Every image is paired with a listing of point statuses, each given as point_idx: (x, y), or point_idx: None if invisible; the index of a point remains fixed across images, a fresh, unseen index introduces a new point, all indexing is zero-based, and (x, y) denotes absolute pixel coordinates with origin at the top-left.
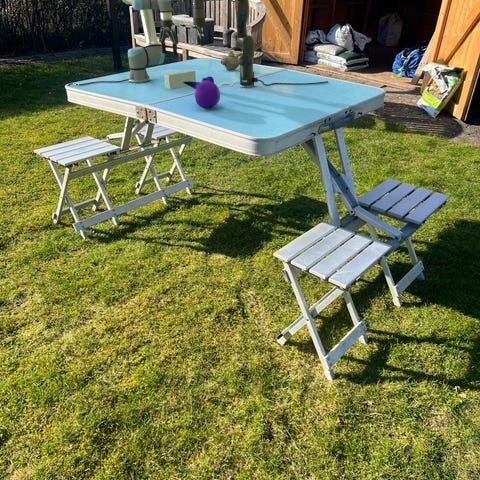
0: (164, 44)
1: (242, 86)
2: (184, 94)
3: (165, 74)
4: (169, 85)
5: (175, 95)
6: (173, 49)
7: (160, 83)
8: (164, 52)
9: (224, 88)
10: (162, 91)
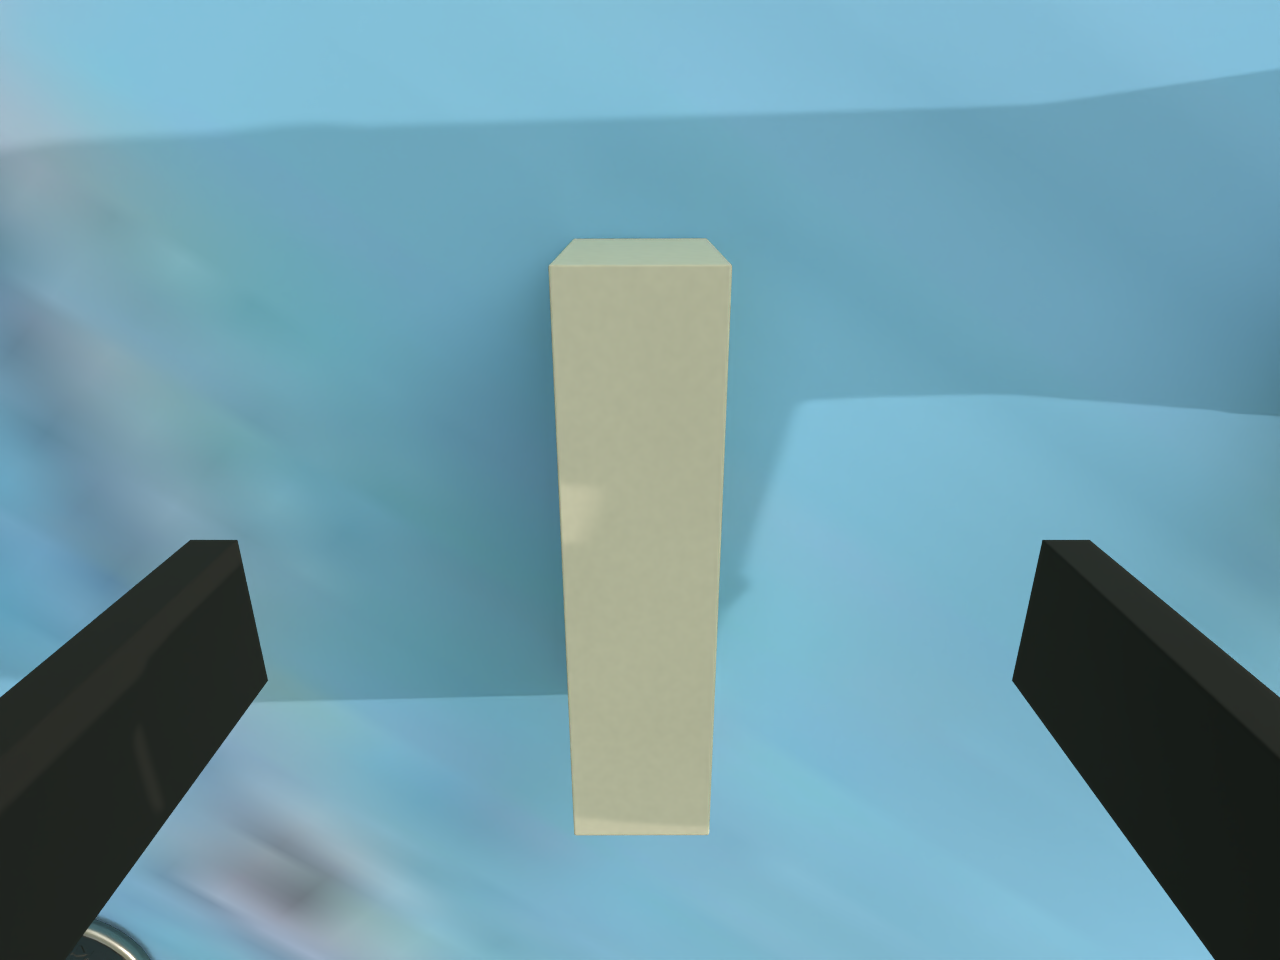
0: (1267, 957)
1: None
2: (63, 182)
3: (689, 269)
4: (575, 244)
5: (71, 13)
6: (18, 686)
7: (1082, 391)
8: (1040, 630)
9: None
10: (518, 32)
